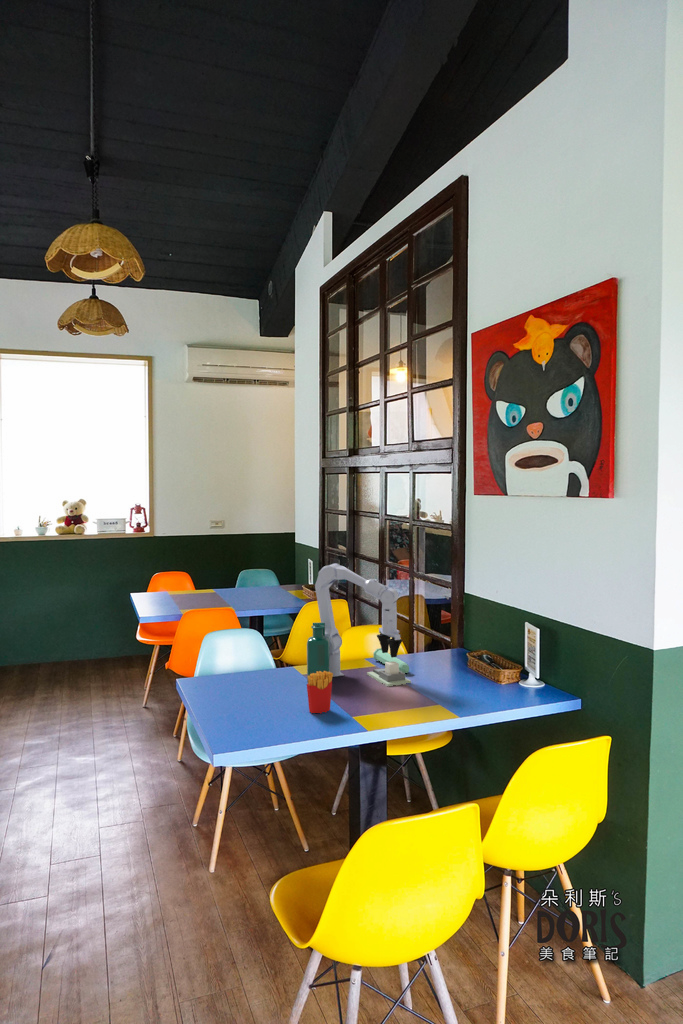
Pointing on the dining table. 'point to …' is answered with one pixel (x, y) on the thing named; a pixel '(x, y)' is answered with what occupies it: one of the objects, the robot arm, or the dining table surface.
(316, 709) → the french fries
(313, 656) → the green bottle
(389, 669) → the block
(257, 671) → the dining table surface
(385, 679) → the outlet plate
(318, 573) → the robot arm
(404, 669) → the container
